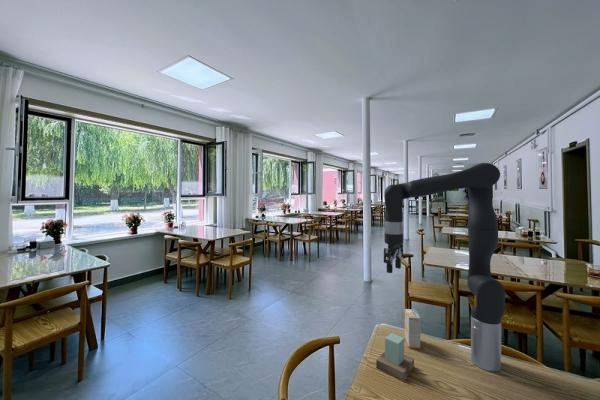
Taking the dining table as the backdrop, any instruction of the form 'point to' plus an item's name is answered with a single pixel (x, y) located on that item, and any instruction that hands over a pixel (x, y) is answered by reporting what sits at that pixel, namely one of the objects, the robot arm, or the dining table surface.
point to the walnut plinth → (396, 367)
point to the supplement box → (412, 328)
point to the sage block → (394, 349)
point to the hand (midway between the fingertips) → (394, 270)
